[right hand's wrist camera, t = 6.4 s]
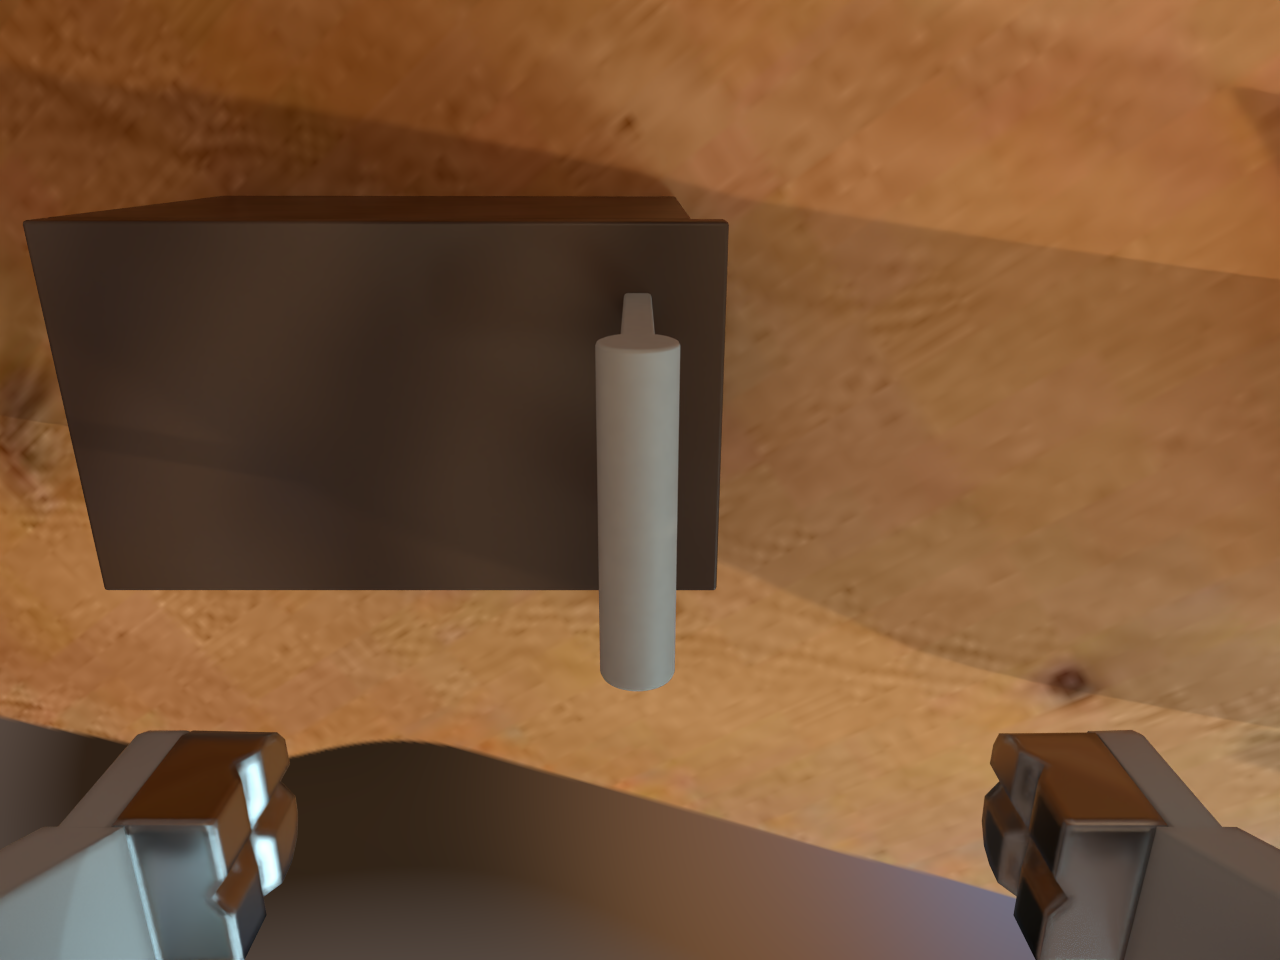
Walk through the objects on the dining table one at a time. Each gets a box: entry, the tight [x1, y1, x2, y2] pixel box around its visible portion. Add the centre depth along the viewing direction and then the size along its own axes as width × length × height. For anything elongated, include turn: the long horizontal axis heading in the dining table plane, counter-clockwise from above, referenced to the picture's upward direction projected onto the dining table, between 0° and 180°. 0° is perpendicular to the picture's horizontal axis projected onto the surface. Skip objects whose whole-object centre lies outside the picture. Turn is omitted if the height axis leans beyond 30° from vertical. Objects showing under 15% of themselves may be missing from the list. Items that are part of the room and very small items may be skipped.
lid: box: [23, 218, 729, 691], centre depth 21 cm, size 18×10×8 cm, turn 90°
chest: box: [49, 196, 690, 219], centre depth 30 cm, size 17×10×11 cm, turn 90°
